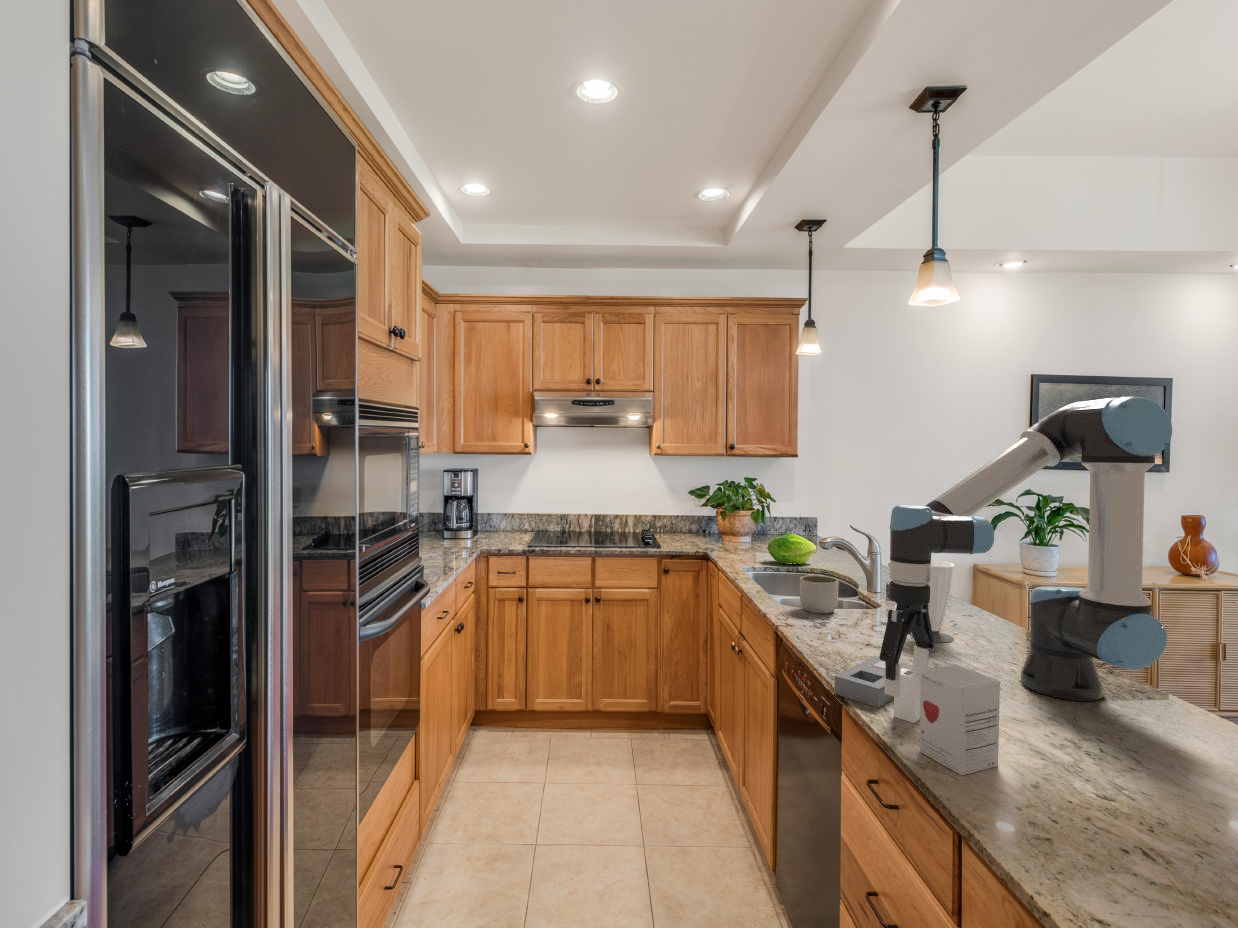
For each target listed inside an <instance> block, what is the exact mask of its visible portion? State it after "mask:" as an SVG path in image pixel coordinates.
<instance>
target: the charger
mask: <svg viewBox="0 0 1238 928" xmlns="http://www.w3.org/2000/svg"><path fill="white" fill-rule="evenodd" d="M920 688H921V673H920V672H916V671H913V670H909V669H905V668H902V669H901V677H900V697H899V698H897V697H894V699H893V717H894V718H897V719H899V720H904V721H907V722H909V723H913V724H915V723H917V722H918V721H920Z"/></svg>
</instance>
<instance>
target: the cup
mask: <svg viewBox="0 0 1238 928" xmlns="http://www.w3.org/2000/svg"><path fill="white" fill-rule="evenodd" d="M954 568H955V564H954V563H952V562H949V561H944V560H936V559H931V582H929V583H927V584H928V585H929V586H930V602H929V603H928V610H929V617H930V623H931V628H932V633H933V638H934V642H933V644H934V643H936V644H945V643H946V644H947V643H951V642H953V641H955V639H954V637H953V636H952V635H949V634H947V633H944V632H941V628H942V626H943V623H944V619H945V617H946V612H947V608H948V603H949V600H950V599H949V598H950V594H951V588H952V581H953V574H954V573H953V572H954ZM909 635H910V637H911V638H913V639H914V637H913V635H912V632H911V633H910V634H909ZM927 636H928V635H927Z"/></svg>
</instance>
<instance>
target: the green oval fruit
mask: <svg viewBox="0 0 1238 928" xmlns="http://www.w3.org/2000/svg"><path fill="white" fill-rule="evenodd" d="M766 549H767V551H768V554H769V555H770V556H771V557H772V558H773V559H774V561H776V562H779V563H780V564H782V563H792V564H794V563H795V564H801V565H804V564H805V563H806V562H808V561H809V560H810V558H811V557H812V556H813V555H814V553H816V552H817V546H816V545H815V544H814V543H813V542H811V541H809V540H808V539H807V538H804V537H803V536H800V535H797V534H793V533H791V534H788V533H787V534H784V535H782V536H777V537H774V538H772V539H771V540H770V541H769V543H768V545H767V547H766ZM803 563H804V564H803Z"/></svg>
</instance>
